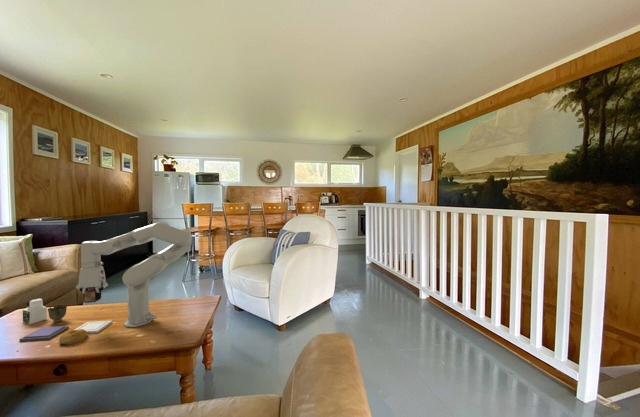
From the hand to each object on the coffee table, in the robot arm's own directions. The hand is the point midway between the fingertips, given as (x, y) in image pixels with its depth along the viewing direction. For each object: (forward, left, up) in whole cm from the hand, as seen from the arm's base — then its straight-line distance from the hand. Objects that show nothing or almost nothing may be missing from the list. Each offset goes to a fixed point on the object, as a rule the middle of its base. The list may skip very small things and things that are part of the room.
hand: (92, 299), depth 138 cm
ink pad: (+18, +4, -15) cm, 24 cm away
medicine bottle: (+37, -15, -15) cm, 43 cm away
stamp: (0, 0, -1) cm, 1 cm away
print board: (0, 0, -15) cm, 15 cm away
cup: (+24, -12, -15) cm, 31 cm away
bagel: (+1, +12, -15) cm, 19 cm away
